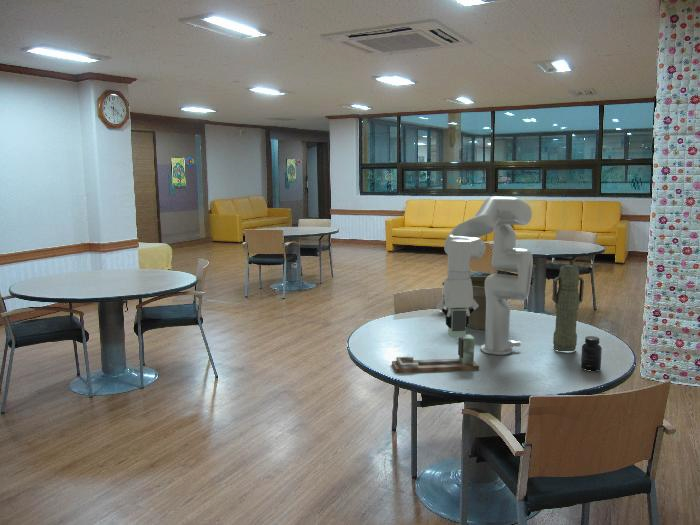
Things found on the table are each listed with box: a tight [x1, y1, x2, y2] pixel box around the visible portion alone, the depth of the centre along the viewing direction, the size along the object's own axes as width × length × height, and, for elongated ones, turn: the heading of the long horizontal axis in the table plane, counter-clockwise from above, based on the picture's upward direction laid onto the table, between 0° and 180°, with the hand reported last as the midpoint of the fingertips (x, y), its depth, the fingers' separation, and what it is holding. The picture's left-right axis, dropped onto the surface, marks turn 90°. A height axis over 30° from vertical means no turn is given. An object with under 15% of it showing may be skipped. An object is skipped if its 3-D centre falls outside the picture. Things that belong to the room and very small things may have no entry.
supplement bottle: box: [580, 335, 603, 372], centre depth 219 cm, size 7×7×12 cm
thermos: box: [551, 264, 585, 351], centre depth 239 cm, size 9×12×35 cm
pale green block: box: [447, 308, 467, 339], centre depth 205 cm, size 5×5×10 cm
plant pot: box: [467, 275, 508, 331], centre depth 276 cm, size 25×25×22 cm
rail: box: [391, 334, 480, 374], centre depth 220 cm, size 31×9×12 cm, turn 96°
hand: (457, 326), depth 206 cm, fingers closed on pale green block, 5 cm apart
